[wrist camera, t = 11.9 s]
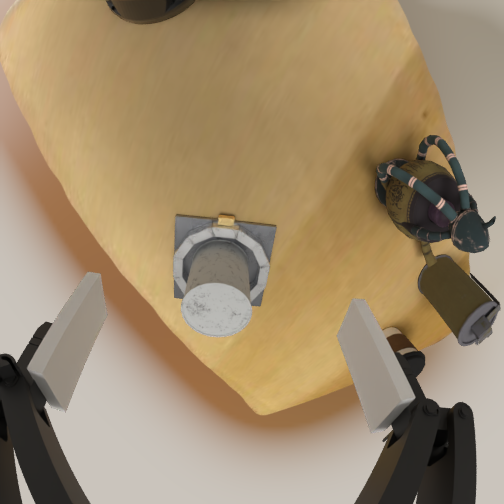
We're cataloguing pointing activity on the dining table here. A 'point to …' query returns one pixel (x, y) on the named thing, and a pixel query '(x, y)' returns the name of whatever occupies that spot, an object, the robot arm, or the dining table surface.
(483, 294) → the canister
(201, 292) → the grey speckled cylinder
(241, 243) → the socket
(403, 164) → the teapot
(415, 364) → the coffee cup
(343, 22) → the dining table surface
